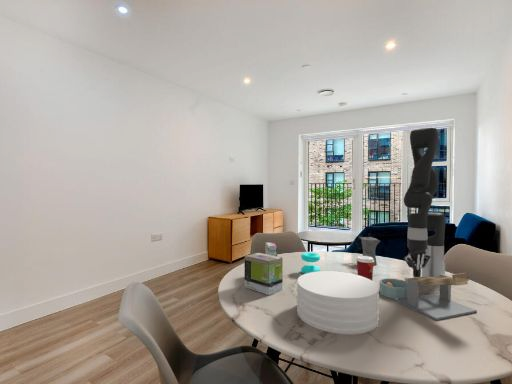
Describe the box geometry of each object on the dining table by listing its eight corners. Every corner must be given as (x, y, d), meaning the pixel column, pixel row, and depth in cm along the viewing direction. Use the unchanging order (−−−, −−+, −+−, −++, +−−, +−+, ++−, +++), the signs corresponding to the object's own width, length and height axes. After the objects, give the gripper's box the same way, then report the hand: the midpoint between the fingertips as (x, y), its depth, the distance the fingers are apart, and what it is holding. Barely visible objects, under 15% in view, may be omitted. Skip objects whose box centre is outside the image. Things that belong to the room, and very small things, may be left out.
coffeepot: (383, 264, 165) (383, 234, 165) (376, 267, 158) (376, 236, 158) (358, 259, 176) (358, 231, 176) (351, 262, 169) (351, 233, 169)
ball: (395, 286, 121) (392, 290, 123) (391, 280, 123) (387, 284, 125) (389, 287, 120) (386, 291, 122) (385, 281, 122) (382, 285, 124)
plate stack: (293, 298, 114) (293, 270, 114) (361, 299, 113) (362, 271, 113) (302, 333, 86) (302, 297, 86) (393, 335, 85) (393, 298, 85)
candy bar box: (277, 279, 138) (277, 246, 138) (267, 279, 137) (267, 246, 137) (274, 272, 149) (274, 241, 149) (264, 272, 148) (264, 242, 148)
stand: (396, 301, 111) (396, 275, 111) (433, 295, 117) (434, 270, 117) (436, 320, 95) (436, 290, 95) (476, 312, 101) (477, 284, 101)
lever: (389, 284, 118) (387, 275, 119) (417, 280, 123) (415, 271, 124) (457, 286, 91) (454, 274, 92) (490, 281, 96) (486, 270, 97)
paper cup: (375, 292, 121) (376, 260, 121) (357, 290, 122) (357, 259, 122) (372, 285, 128) (372, 255, 128) (354, 284, 130) (354, 255, 130)
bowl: (395, 287, 127) (395, 277, 127) (418, 297, 115) (418, 286, 115) (373, 290, 123) (373, 280, 123) (395, 301, 111) (395, 289, 111)
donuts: (297, 253, 149) (310, 251, 155) (297, 272, 149) (310, 269, 155) (310, 257, 141) (324, 254, 147) (310, 277, 141) (324, 273, 147)
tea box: (283, 289, 123) (283, 256, 123) (268, 296, 116) (268, 261, 116) (258, 282, 134) (258, 251, 133) (243, 287, 126) (243, 255, 126)
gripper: (421, 235, 126) (420, 273, 126) (398, 237, 122) (397, 276, 122) (436, 238, 119) (436, 278, 119) (412, 240, 114) (412, 281, 115)
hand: (416, 277), depth 120 cm, fingers closed
